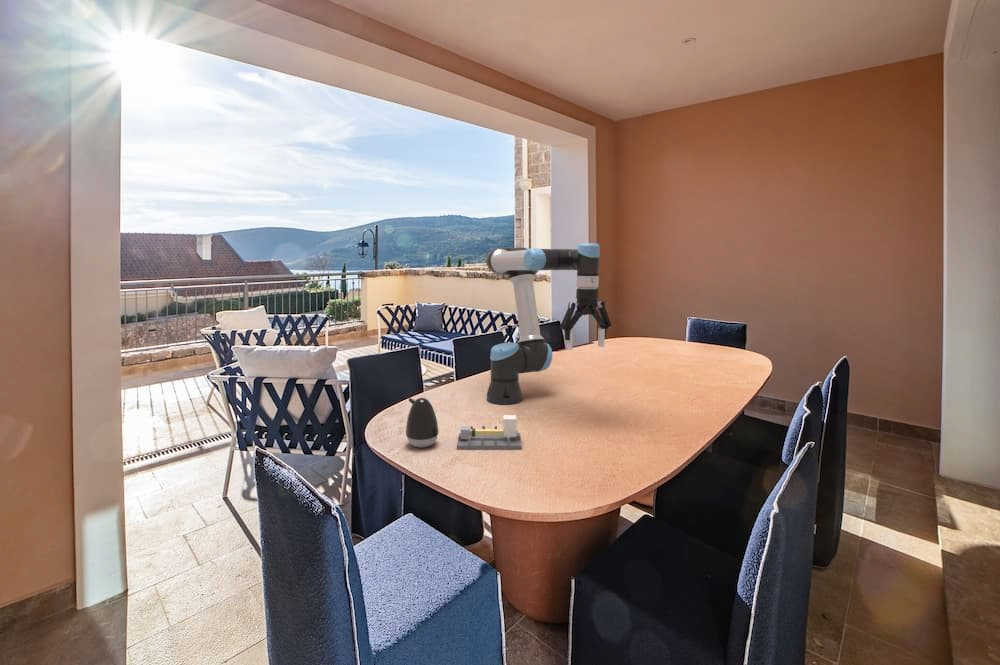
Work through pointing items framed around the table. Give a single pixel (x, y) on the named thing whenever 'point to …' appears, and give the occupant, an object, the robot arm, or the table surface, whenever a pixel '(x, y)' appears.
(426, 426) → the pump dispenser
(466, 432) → the cable comb
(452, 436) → the table surface
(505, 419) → the sleeve
